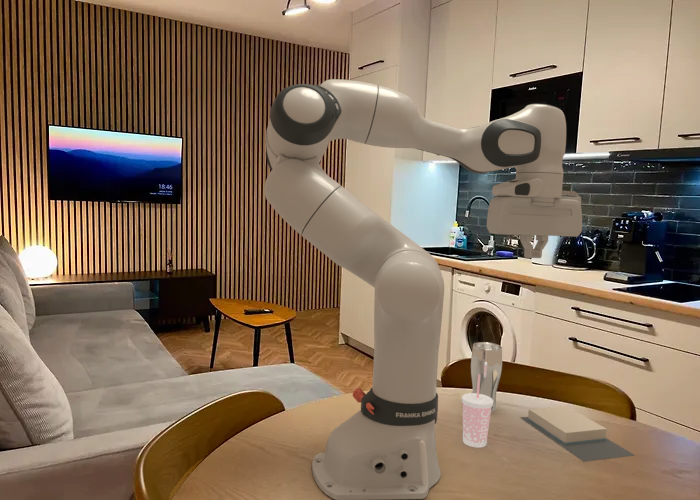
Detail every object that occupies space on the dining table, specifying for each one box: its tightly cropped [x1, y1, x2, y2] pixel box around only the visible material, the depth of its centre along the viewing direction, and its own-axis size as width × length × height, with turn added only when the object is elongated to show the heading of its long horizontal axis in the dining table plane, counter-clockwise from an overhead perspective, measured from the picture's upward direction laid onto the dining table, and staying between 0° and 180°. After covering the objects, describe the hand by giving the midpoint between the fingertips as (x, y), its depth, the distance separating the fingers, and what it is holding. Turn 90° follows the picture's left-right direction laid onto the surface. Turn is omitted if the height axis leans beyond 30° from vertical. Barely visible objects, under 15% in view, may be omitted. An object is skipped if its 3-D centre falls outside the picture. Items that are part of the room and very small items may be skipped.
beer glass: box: [470, 341, 503, 413], centre depth 120 cm, size 7×7×15 cm
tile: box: [527, 405, 608, 445], centre depth 110 cm, size 10×2×12 cm
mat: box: [519, 416, 635, 463], centre depth 108 cm, size 12×20×1 cm, turn 17°
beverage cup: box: [461, 374, 493, 448], centre depth 103 cm, size 6×6×14 cm
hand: (532, 257), depth 104 cm, fingers closed
